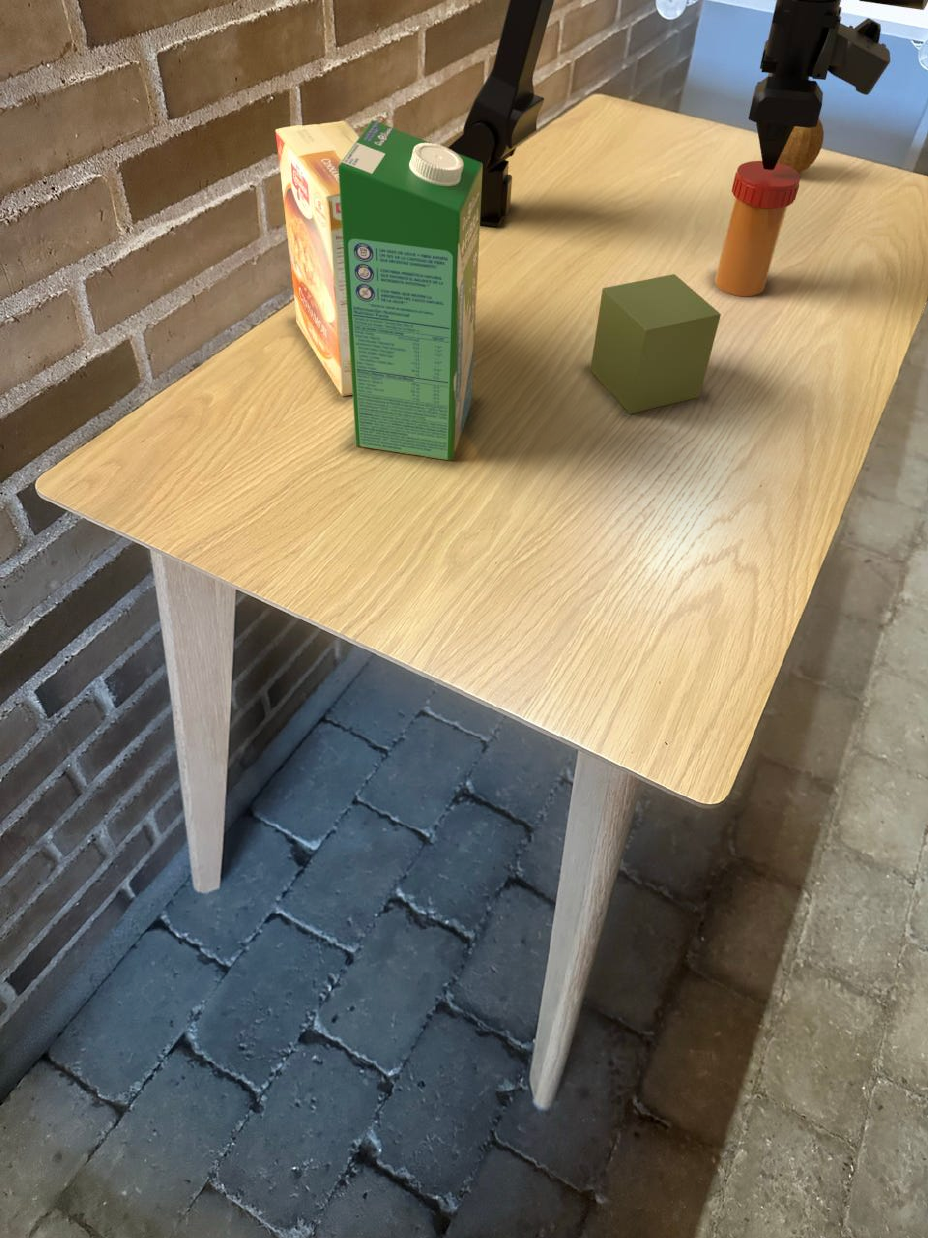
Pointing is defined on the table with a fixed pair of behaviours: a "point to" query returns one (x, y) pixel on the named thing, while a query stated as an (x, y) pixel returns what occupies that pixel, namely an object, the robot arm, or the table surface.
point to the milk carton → (410, 289)
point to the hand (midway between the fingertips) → (768, 168)
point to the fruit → (802, 147)
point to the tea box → (653, 342)
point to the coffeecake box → (318, 238)
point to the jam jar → (748, 249)
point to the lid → (765, 185)
